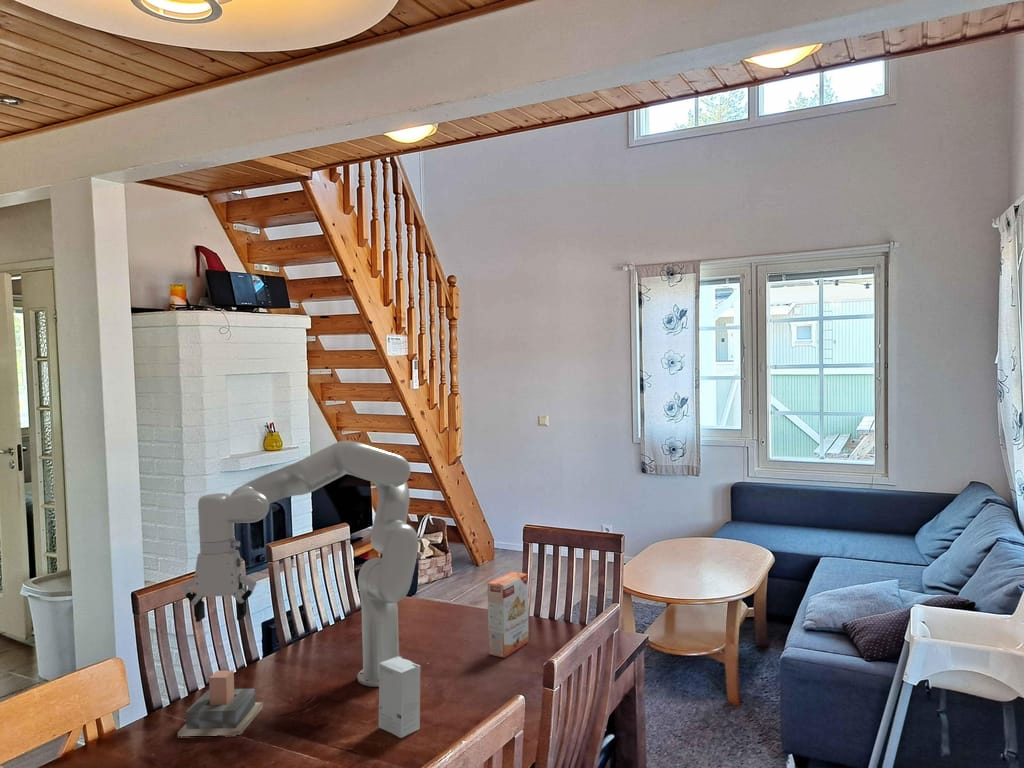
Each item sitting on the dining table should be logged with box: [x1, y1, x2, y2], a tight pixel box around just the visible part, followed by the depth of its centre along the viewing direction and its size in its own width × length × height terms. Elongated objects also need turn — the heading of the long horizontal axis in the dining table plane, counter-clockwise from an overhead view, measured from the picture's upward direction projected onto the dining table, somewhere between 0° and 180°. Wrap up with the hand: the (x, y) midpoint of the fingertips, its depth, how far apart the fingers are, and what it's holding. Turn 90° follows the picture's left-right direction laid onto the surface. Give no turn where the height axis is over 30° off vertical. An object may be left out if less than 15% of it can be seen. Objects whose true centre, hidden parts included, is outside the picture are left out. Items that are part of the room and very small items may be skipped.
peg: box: [208, 670, 235, 705], centre depth 163 cm, size 4×4×10 cm
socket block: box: [177, 688, 264, 738], centre depth 163 cm, size 14×14×5 cm
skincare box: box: [378, 657, 421, 739], centre depth 157 cm, size 8×6×15 cm
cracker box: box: [487, 571, 530, 659], centre depth 203 cm, size 14×6×21 cm, turn 148°
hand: (220, 619), depth 163 cm, fingers open, 9 cm apart
